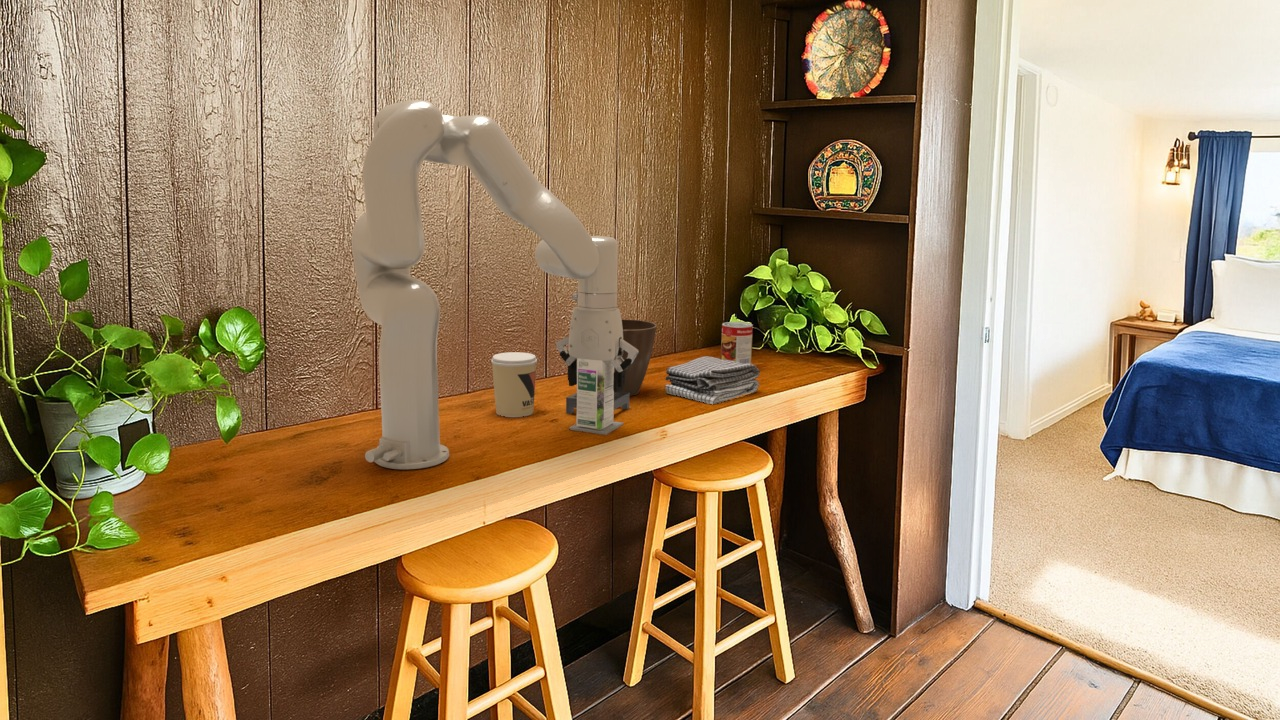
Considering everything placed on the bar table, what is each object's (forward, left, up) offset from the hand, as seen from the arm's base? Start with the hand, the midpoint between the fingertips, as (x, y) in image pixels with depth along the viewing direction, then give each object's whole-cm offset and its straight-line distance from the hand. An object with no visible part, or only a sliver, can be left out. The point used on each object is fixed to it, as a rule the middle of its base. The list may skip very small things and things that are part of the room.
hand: (595, 387), depth 170 cm
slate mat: (0, 0, -8) cm, 8 cm away
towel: (+38, -11, -9) cm, 40 cm away
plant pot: (+28, +7, -8) cm, 30 cm away
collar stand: (+11, +5, -8) cm, 15 cm away
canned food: (+64, -9, -8) cm, 65 cm away
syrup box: (0, 0, -8) cm, 8 cm away
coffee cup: (+2, +20, -8) cm, 22 cm away
